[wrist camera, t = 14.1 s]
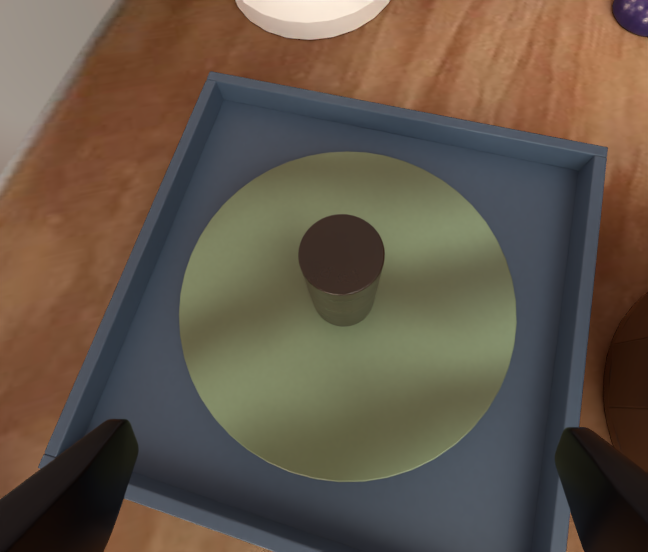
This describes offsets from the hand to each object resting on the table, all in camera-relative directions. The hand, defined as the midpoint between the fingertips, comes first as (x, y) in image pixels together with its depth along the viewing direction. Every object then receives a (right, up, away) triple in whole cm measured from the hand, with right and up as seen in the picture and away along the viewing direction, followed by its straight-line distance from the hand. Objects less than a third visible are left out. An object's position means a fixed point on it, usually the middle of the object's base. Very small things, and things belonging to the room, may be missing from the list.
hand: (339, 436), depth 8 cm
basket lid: (+1, +2, +11) cm, 11 cm away
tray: (+1, +2, +12) cm, 12 cm away
